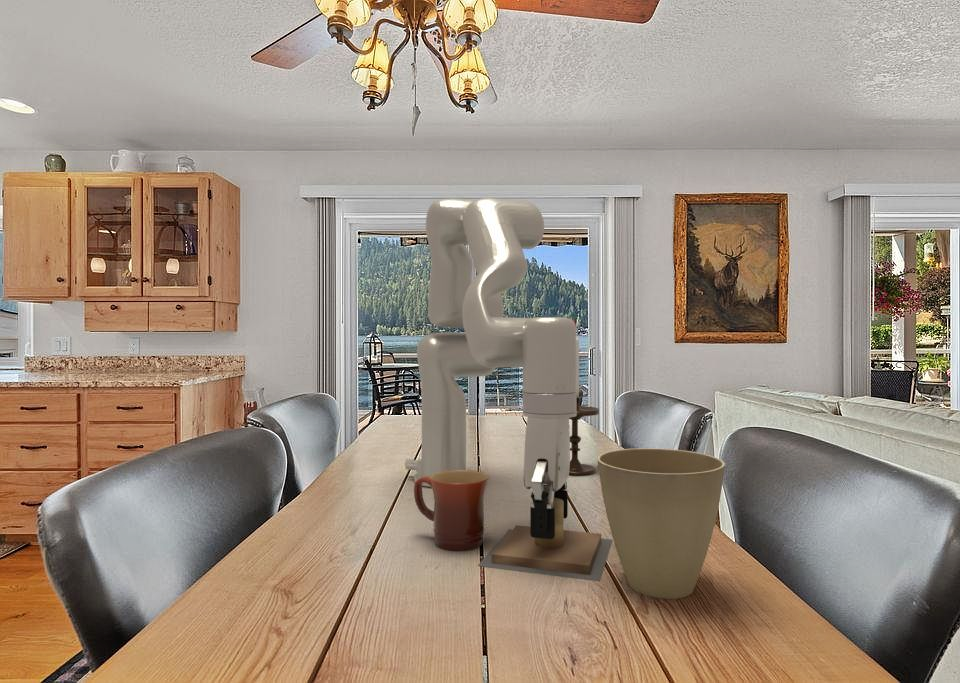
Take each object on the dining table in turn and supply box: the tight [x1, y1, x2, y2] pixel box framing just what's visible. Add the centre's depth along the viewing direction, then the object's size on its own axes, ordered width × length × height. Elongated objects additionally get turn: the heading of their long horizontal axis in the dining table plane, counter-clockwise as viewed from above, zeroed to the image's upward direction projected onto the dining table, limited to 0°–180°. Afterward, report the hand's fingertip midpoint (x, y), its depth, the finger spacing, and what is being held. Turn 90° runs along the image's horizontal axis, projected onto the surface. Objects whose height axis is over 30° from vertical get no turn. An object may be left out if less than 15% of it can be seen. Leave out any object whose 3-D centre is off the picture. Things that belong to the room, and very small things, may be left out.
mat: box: [477, 528, 614, 582], centre depth 85 cm, size 16×16×1 cm
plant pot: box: [596, 447, 726, 600], centre depth 74 cm, size 15×15×16 cm
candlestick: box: [569, 319, 600, 477], centre depth 138 cm, size 11×11×35 cm
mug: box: [413, 469, 490, 552], centre depth 90 cm, size 12×9×10 cm
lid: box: [492, 497, 602, 575], centre depth 85 cm, size 13×13×7 cm
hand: (550, 526), depth 85 cm, fingers open, 9 cm apart
